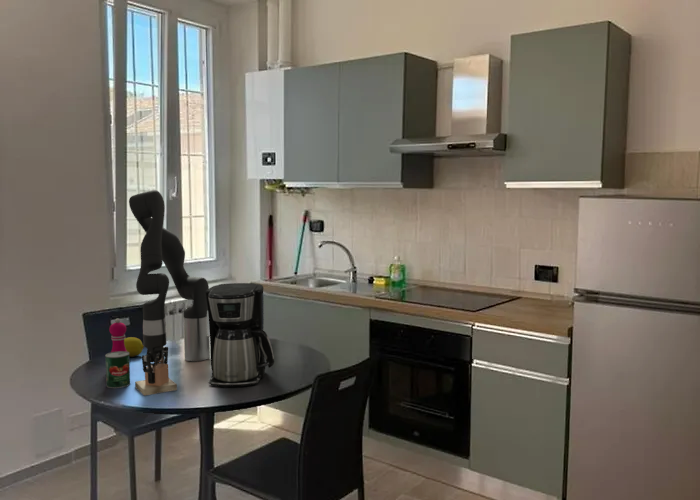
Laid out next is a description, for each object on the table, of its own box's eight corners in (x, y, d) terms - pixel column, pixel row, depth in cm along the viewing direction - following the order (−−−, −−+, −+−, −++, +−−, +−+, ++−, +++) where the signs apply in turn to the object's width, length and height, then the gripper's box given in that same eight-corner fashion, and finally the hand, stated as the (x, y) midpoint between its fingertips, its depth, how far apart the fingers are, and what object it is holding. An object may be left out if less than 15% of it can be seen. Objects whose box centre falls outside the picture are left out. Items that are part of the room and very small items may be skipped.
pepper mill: (122, 373, 233) (120, 320, 231) (105, 372, 234) (103, 320, 232) (133, 368, 240) (131, 316, 238) (116, 367, 241) (114, 316, 240)
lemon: (147, 354, 261) (147, 335, 260) (139, 359, 253) (138, 339, 253) (123, 353, 262) (122, 334, 262) (113, 358, 255) (113, 339, 254)
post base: (167, 381, 222) (166, 362, 222) (177, 389, 213) (176, 369, 213) (135, 387, 216) (134, 367, 216) (144, 395, 207) (143, 375, 207)
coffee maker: (212, 392, 211) (210, 292, 208) (196, 368, 240) (193, 280, 237) (277, 383, 220) (276, 288, 217) (254, 361, 249) (252, 277, 246)
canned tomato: (116, 389, 214) (115, 358, 213) (101, 386, 218) (100, 355, 217) (135, 383, 221) (134, 353, 220) (120, 380, 225) (119, 350, 224)
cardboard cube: (168, 380, 217) (168, 363, 216) (160, 385, 211) (159, 368, 211) (154, 380, 218) (153, 363, 217) (145, 384, 212) (144, 367, 212)
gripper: (153, 337, 205) (155, 387, 207) (174, 327, 219) (176, 375, 221) (133, 336, 207) (135, 386, 208) (155, 327, 221) (156, 374, 222)
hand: (156, 380), depth 215 cm, fingers closed on cardboard cube, 5 cm apart
